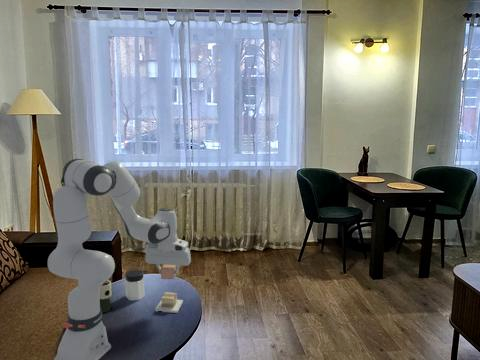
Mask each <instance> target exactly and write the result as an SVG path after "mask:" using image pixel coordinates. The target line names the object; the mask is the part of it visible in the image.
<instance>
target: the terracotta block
mask: <svg viewBox="0 0 480 360" xmlns="http://www.w3.org/2000/svg"><path fill="white" fill-rule="evenodd" d="M175 269H177V267H176V265H166V264H162V267H161V273H160V279H161V280H174V279H175V277H176V276H177V274H174V270H175Z"/></svg>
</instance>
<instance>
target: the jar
mask: <svg viewBox="0 0 480 360" xmlns="http://www.w3.org/2000/svg"><path fill="white" fill-rule="evenodd" d="M124 287H125V289H124V290H125V298H127V300H128V301H139V300H141V299H142V298H144V297H146V293H145V277H144V272H143V271H142V270H139V269H133V270H128V271H127V272H125V278H124Z"/></svg>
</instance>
